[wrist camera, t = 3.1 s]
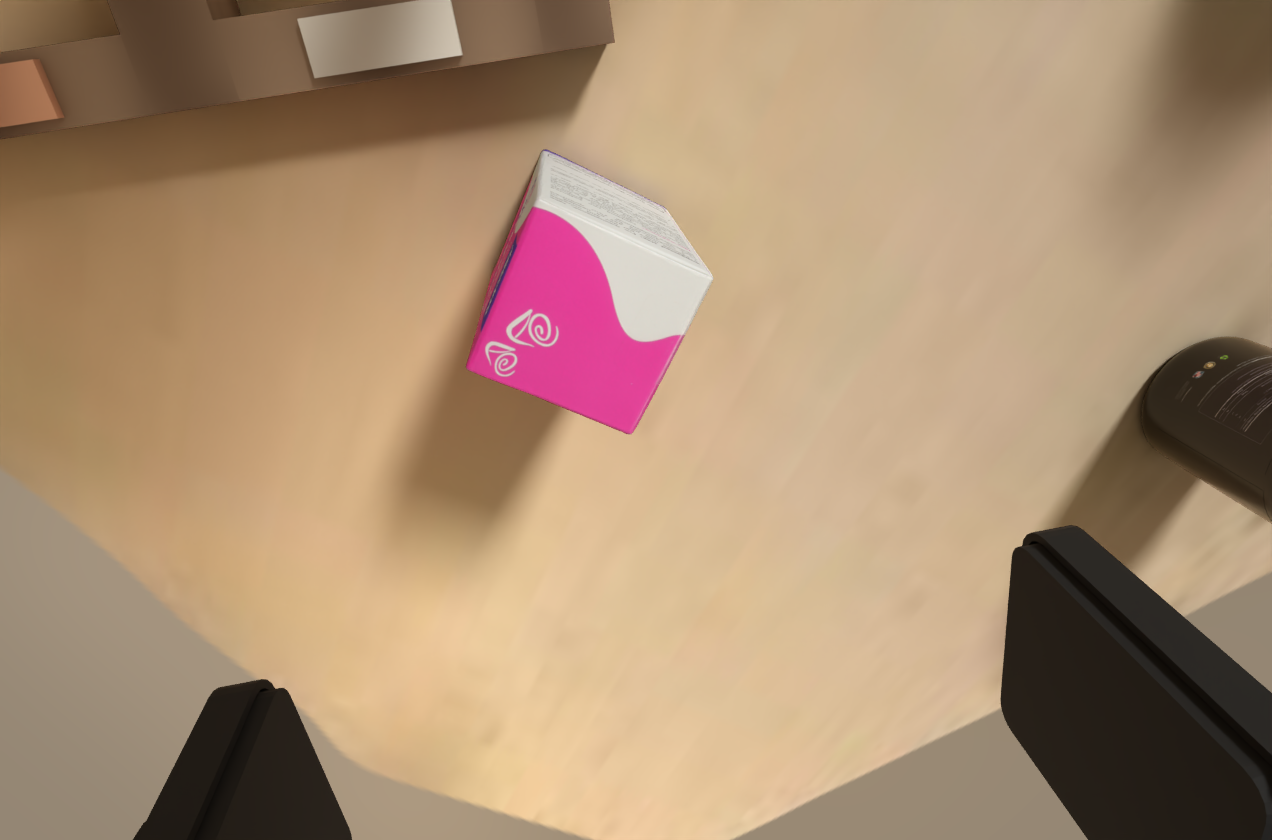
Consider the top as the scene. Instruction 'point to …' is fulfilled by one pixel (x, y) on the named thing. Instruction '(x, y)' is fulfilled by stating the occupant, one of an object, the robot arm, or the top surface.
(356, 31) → the wooden compartment tray
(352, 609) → the top surface
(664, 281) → the supplement box
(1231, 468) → the supplement bottle
